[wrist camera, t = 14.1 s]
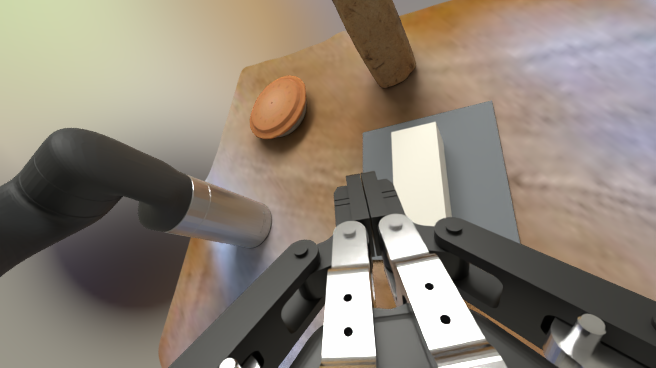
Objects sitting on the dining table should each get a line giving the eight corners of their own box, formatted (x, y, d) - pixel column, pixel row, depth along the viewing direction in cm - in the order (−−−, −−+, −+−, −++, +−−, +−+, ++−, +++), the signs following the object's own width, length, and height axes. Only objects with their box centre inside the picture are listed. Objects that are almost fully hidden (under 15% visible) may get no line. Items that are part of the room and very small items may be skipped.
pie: (324, 83, 59) (311, 68, 55) (300, 148, 56) (285, 137, 52) (274, 86, 68) (260, 73, 64) (252, 143, 65) (236, 133, 61)
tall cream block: (396, 263, 33) (391, 132, 39) (409, 267, 38) (403, 150, 44) (450, 263, 30) (435, 121, 36) (457, 267, 35) (443, 142, 41)
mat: (363, 260, 42) (362, 259, 41) (363, 133, 49) (362, 132, 49) (522, 259, 32) (523, 258, 32) (491, 101, 40) (491, 100, 39)
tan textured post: (422, 76, 47) (381, -37, 31) (381, 96, 50) (325, 3, 34) (405, 35, 52) (362, -80, 36) (369, 56, 55) (315, -42, 39)
